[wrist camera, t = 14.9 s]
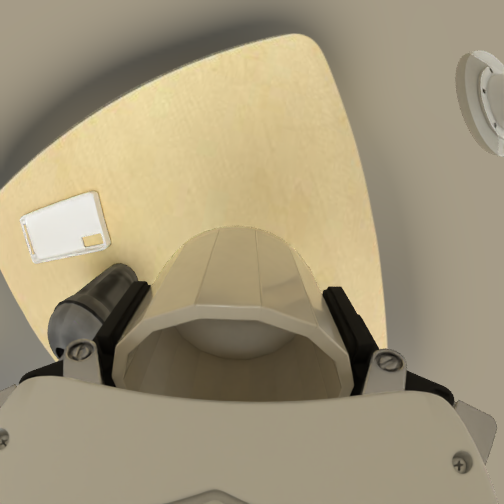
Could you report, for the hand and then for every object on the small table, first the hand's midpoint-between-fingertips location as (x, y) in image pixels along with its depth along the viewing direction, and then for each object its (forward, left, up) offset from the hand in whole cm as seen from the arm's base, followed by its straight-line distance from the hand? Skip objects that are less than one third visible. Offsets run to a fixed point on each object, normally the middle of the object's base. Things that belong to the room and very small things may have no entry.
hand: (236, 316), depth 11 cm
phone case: (+24, +2, -20) cm, 32 cm away
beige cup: (0, 0, -1) cm, 1 cm away
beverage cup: (+16, +9, -20) cm, 27 cm away
